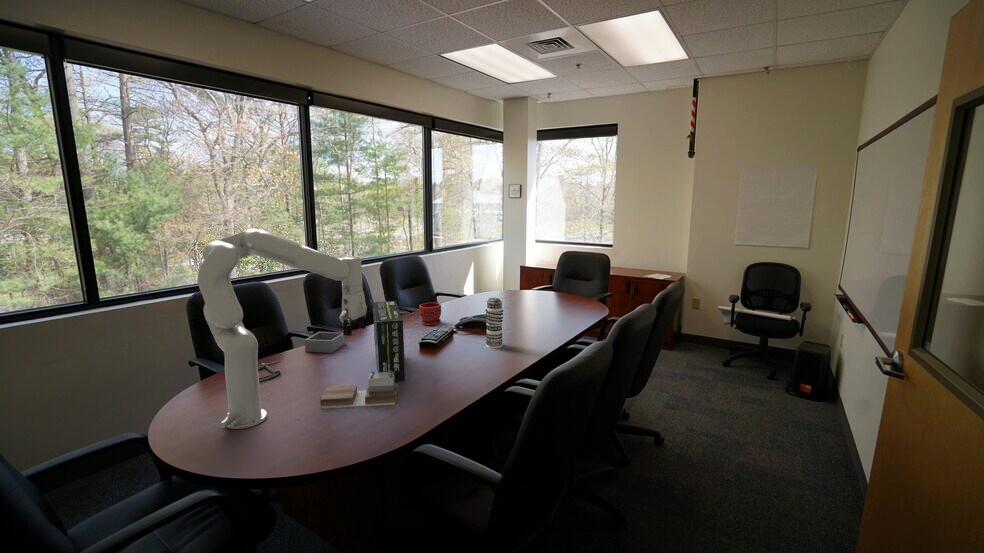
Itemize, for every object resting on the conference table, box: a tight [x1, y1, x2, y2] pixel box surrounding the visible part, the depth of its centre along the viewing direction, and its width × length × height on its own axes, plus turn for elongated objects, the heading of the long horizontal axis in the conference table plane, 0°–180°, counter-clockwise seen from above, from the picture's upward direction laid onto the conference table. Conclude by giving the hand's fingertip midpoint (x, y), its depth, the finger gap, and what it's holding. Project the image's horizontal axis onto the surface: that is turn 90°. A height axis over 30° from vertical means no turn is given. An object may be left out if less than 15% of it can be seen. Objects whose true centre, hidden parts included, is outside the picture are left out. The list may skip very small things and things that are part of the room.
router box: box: [372, 300, 406, 383], centre depth 195 cm, size 36×11×27 cm, turn 17°
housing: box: [367, 371, 396, 394], centre depth 166 cm, size 6×9×7 cm, turn 98°
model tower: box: [484, 297, 504, 350], centre depth 227 cm, size 9×9×25 cm
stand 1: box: [319, 385, 358, 407], centre depth 165 cm, size 11×11×3 cm
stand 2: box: [365, 383, 399, 404], centre depth 167 cm, size 11×11×3 cm
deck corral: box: [304, 331, 346, 354], centre depth 223 cm, size 14×14×6 cm
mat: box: [320, 390, 397, 410], centre depth 166 cm, size 26×13×1 cm, turn 98°
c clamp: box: [258, 360, 282, 383], centre depth 191 cm, size 20×17×3 cm
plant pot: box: [418, 302, 442, 327], centre depth 269 cm, size 13×13×12 cm
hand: (354, 331), depth 173 cm, fingers open, 9 cm apart
